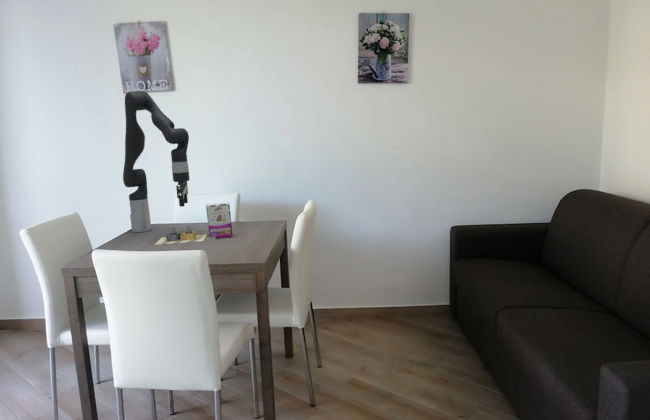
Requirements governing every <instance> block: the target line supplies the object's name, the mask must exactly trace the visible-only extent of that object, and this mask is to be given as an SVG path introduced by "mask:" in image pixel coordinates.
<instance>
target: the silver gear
mask: <svg viewBox="0 0 650 420" xmlns="http://www.w3.org/2000/svg"><path fill="white" fill-rule="evenodd" d="M181 236H182V234H181V232H179V231H175V234H173V235H171V233H170V232H169V233H166V234H165V237H166V241H169V242H171V241H177V240H180V239H181Z"/></svg>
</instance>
